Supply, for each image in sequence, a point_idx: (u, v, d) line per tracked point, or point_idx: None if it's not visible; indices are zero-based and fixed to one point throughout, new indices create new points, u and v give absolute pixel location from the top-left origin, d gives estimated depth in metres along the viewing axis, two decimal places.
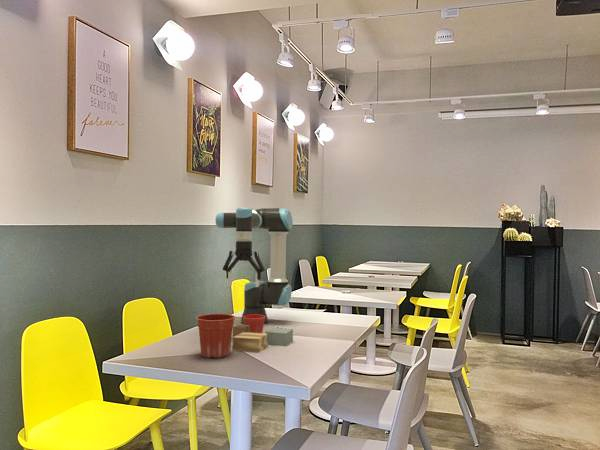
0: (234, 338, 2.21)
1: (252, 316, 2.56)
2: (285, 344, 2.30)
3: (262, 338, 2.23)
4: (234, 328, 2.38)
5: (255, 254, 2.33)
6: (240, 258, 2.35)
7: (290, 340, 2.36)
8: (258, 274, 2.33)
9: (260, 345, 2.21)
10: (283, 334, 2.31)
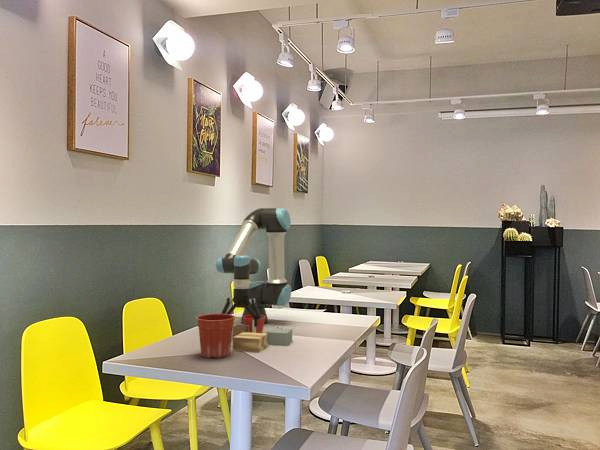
0: (234, 338, 2.21)
1: None
2: (286, 344, 2.31)
3: (262, 338, 2.23)
4: (234, 328, 2.38)
5: (252, 302, 2.38)
6: (237, 305, 2.40)
7: (290, 340, 2.37)
8: (255, 321, 2.38)
9: (260, 345, 2.21)
10: (284, 334, 2.31)
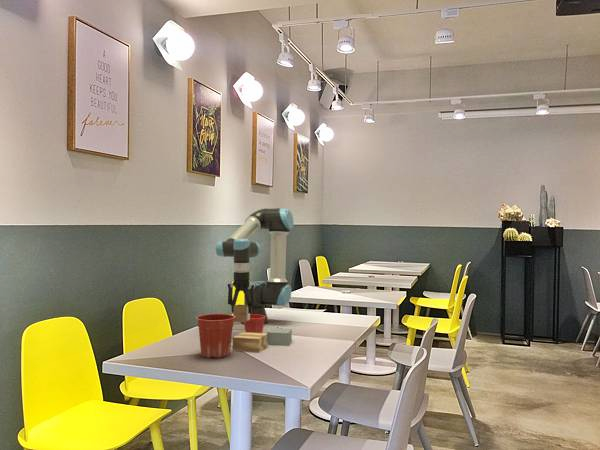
0: (234, 338, 2.21)
1: (252, 316, 2.56)
2: (287, 344, 2.31)
3: (262, 338, 2.23)
4: (235, 308, 2.39)
5: (252, 287, 2.38)
6: (238, 288, 2.40)
7: (290, 340, 2.37)
8: (249, 308, 2.39)
9: (260, 345, 2.21)
10: (285, 334, 2.31)
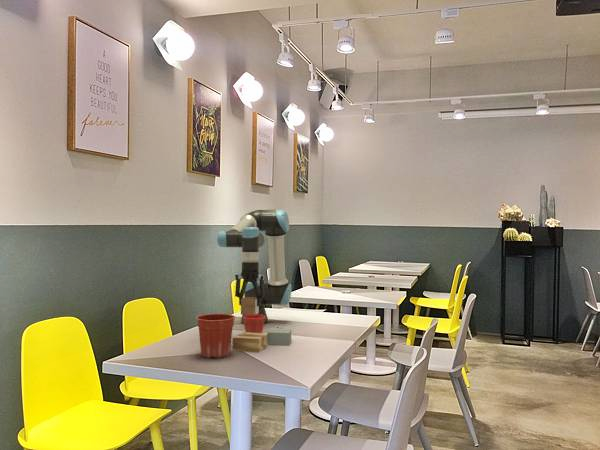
0: (234, 338, 2.21)
1: (252, 316, 2.56)
2: (287, 344, 2.31)
3: (262, 338, 2.23)
4: (242, 300, 2.24)
5: (261, 278, 2.24)
6: (246, 280, 2.26)
7: (290, 340, 2.37)
8: (258, 300, 2.24)
9: (260, 345, 2.21)
10: (285, 334, 2.31)
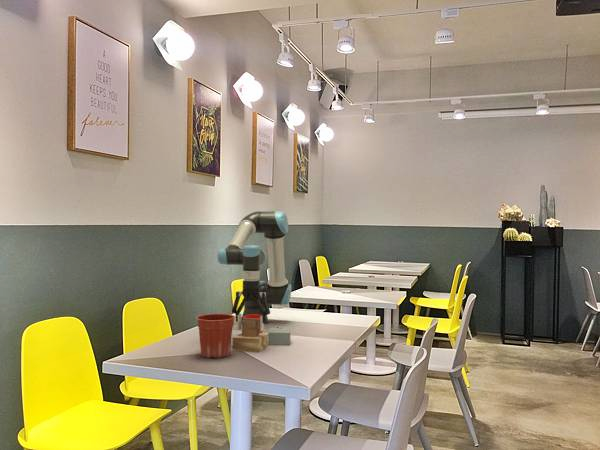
0: (234, 338, 2.21)
1: (252, 316, 2.56)
2: (288, 344, 2.31)
3: (262, 338, 2.23)
4: (243, 322, 2.23)
5: (263, 296, 2.23)
6: (247, 298, 2.25)
7: None
8: (263, 317, 2.23)
9: (260, 345, 2.21)
10: (286, 334, 2.31)
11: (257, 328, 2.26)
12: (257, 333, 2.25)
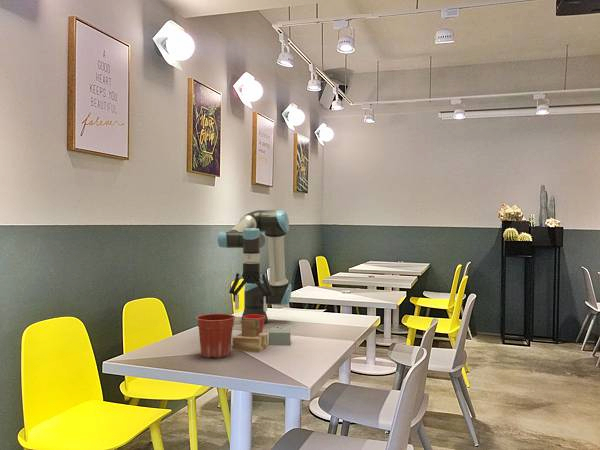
0: (234, 338, 2.21)
1: (252, 316, 2.56)
2: (289, 343, 2.32)
3: (262, 338, 2.23)
4: (243, 322, 2.23)
5: (263, 277, 2.23)
6: (247, 281, 2.25)
7: None
8: (266, 298, 2.23)
9: (260, 345, 2.21)
10: (287, 334, 2.32)
11: (257, 328, 2.26)
12: (257, 333, 2.25)
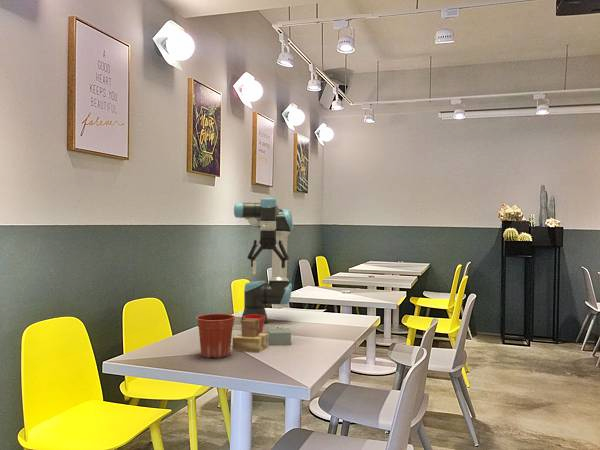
0: (234, 338, 2.21)
1: (252, 316, 2.56)
2: (289, 343, 2.32)
3: (262, 338, 2.23)
4: (243, 322, 2.23)
5: (279, 243, 2.38)
6: (264, 247, 2.41)
7: None
8: (282, 262, 2.39)
9: (260, 345, 2.21)
10: (287, 334, 2.32)
11: (257, 328, 2.26)
12: (257, 333, 2.25)
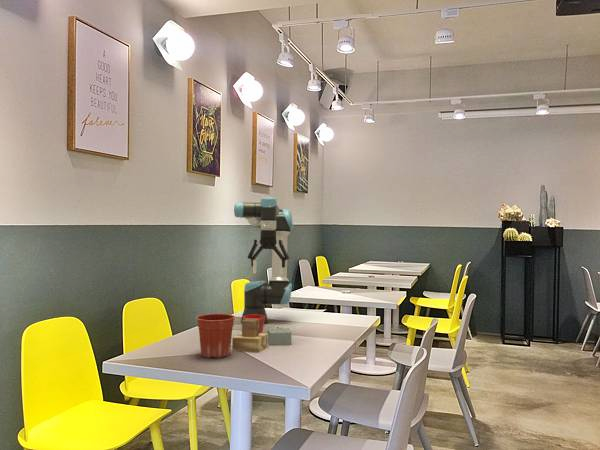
0: (234, 338, 2.21)
1: (252, 316, 2.56)
2: (290, 343, 2.32)
3: (262, 338, 2.23)
4: (243, 322, 2.23)
5: (280, 242, 2.39)
6: (265, 246, 2.41)
7: None
8: (282, 262, 2.39)
9: (260, 345, 2.21)
10: (288, 333, 2.32)
11: (257, 328, 2.26)
12: (257, 333, 2.26)
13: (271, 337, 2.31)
